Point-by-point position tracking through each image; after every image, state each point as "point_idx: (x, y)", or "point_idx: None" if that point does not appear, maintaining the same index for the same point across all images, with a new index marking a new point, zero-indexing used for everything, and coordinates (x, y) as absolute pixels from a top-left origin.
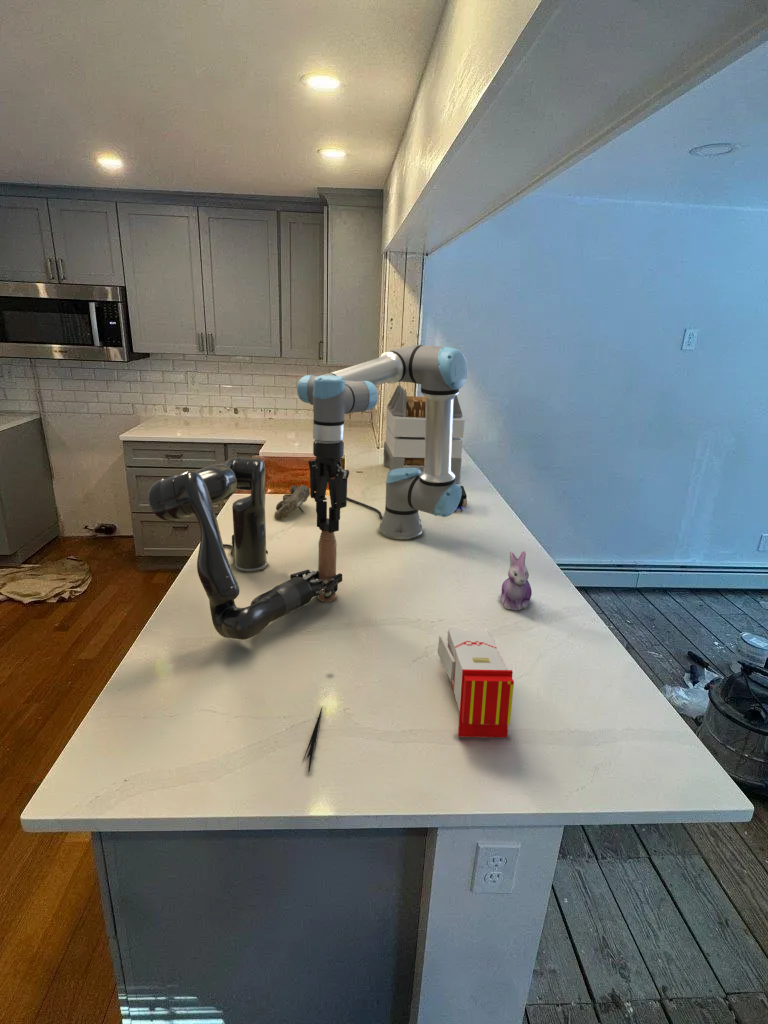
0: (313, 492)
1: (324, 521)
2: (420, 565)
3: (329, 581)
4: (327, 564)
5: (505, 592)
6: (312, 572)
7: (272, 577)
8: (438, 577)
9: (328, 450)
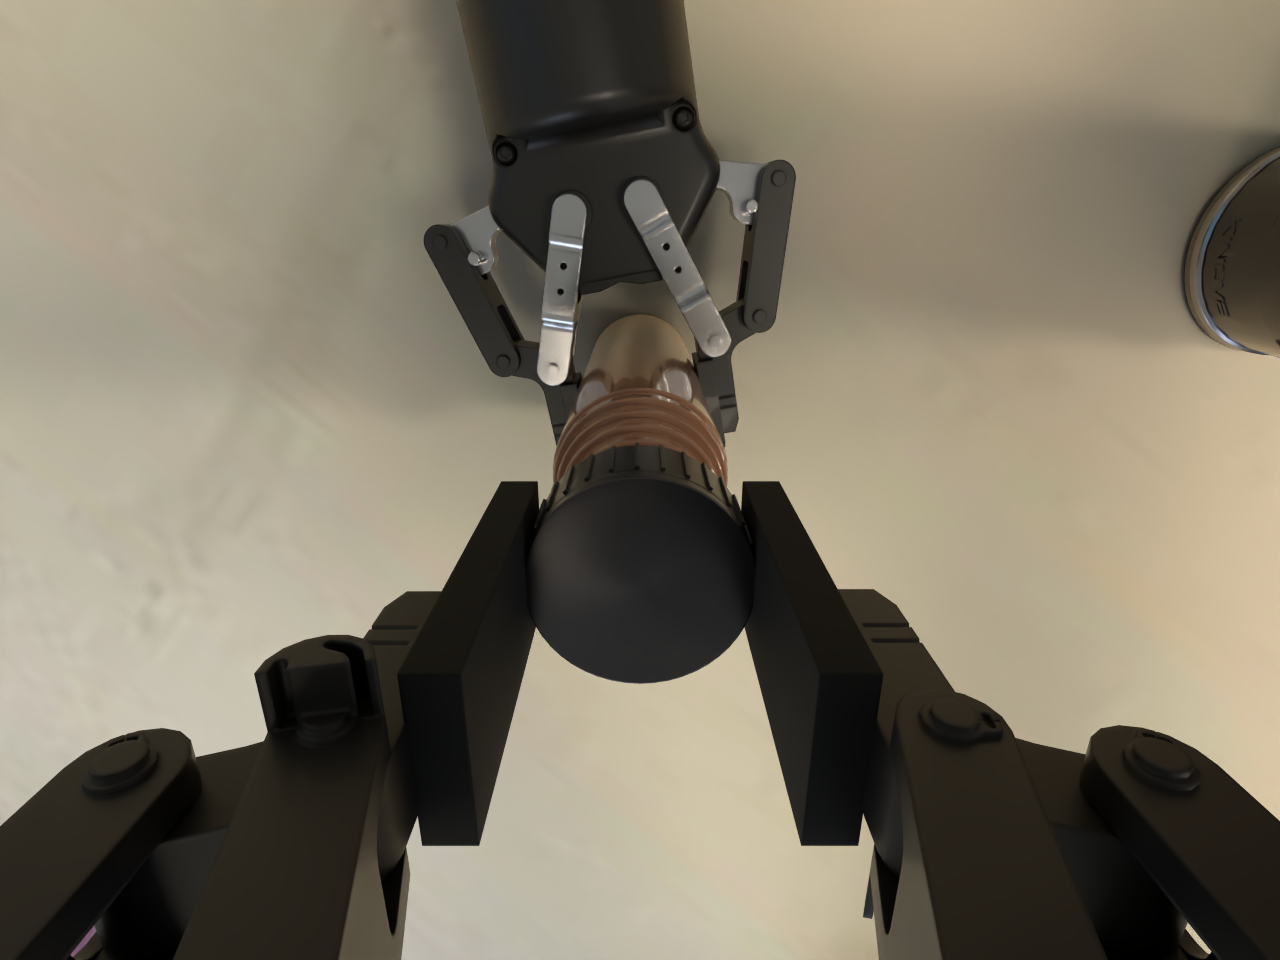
0: (1172, 864)
1: (664, 551)
2: (607, 885)
3: (541, 339)
4: (584, 382)
5: None
6: (714, 324)
7: (1054, 263)
8: (469, 864)
9: None
